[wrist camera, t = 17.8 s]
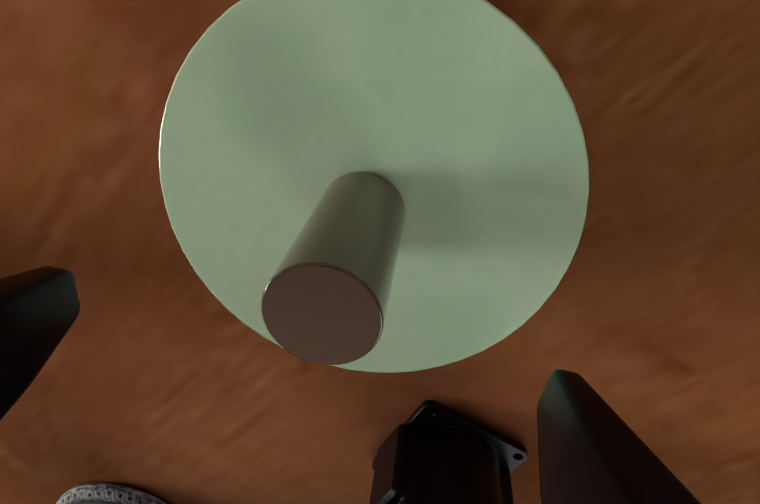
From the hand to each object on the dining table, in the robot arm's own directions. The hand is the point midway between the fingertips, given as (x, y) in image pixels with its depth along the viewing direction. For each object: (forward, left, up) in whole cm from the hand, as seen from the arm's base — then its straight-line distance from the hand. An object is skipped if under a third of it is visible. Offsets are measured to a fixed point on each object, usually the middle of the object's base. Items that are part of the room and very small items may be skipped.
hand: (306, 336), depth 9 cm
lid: (0, 0, -6) cm, 6 cm away
